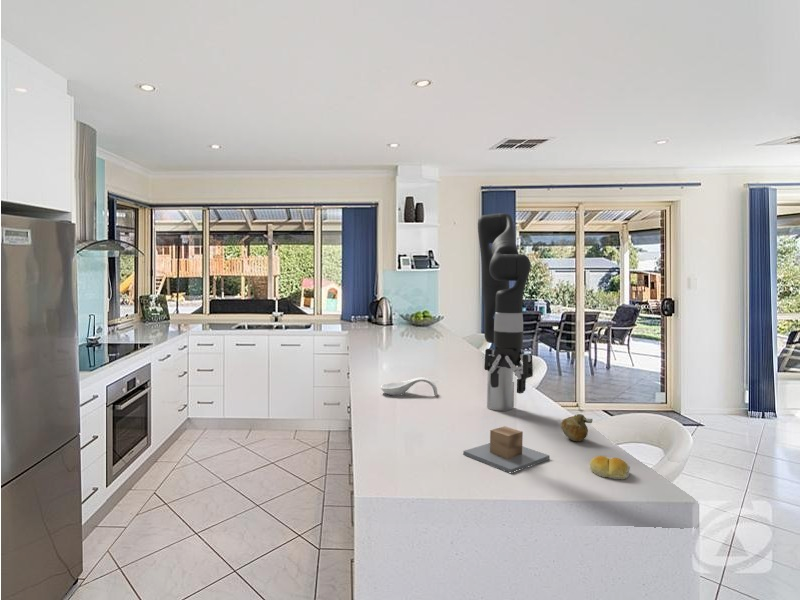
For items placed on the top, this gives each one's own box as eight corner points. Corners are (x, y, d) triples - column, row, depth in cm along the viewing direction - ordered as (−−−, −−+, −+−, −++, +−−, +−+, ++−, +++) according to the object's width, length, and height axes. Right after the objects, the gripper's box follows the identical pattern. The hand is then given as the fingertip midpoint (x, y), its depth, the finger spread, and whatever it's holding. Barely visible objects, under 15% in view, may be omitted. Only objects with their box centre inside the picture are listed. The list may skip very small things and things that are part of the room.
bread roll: (592, 464, 124) (593, 449, 124) (630, 472, 120) (631, 456, 119) (586, 475, 117) (586, 459, 117) (626, 483, 113) (626, 466, 112)
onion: (575, 434, 149) (575, 408, 148) (594, 442, 141) (595, 415, 141) (555, 436, 146) (555, 410, 146) (573, 445, 138) (574, 417, 138)
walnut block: (504, 447, 133) (504, 426, 132) (522, 453, 128) (522, 431, 128) (489, 452, 129) (490, 430, 129) (507, 458, 124) (508, 436, 124)
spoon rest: (378, 397, 194) (378, 379, 194) (382, 390, 206) (382, 374, 206) (437, 399, 192) (437, 381, 192) (437, 392, 204) (437, 375, 203)
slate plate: (501, 442, 140) (502, 439, 140) (549, 459, 127) (549, 455, 127) (463, 454, 130) (463, 450, 130) (510, 473, 117) (510, 469, 117)
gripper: (539, 331, 124) (538, 393, 125) (496, 326, 135) (495, 383, 136) (521, 332, 119) (520, 397, 120) (478, 328, 131) (477, 387, 131)
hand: (507, 390), depth 128 cm, fingers open, 8 cm apart
